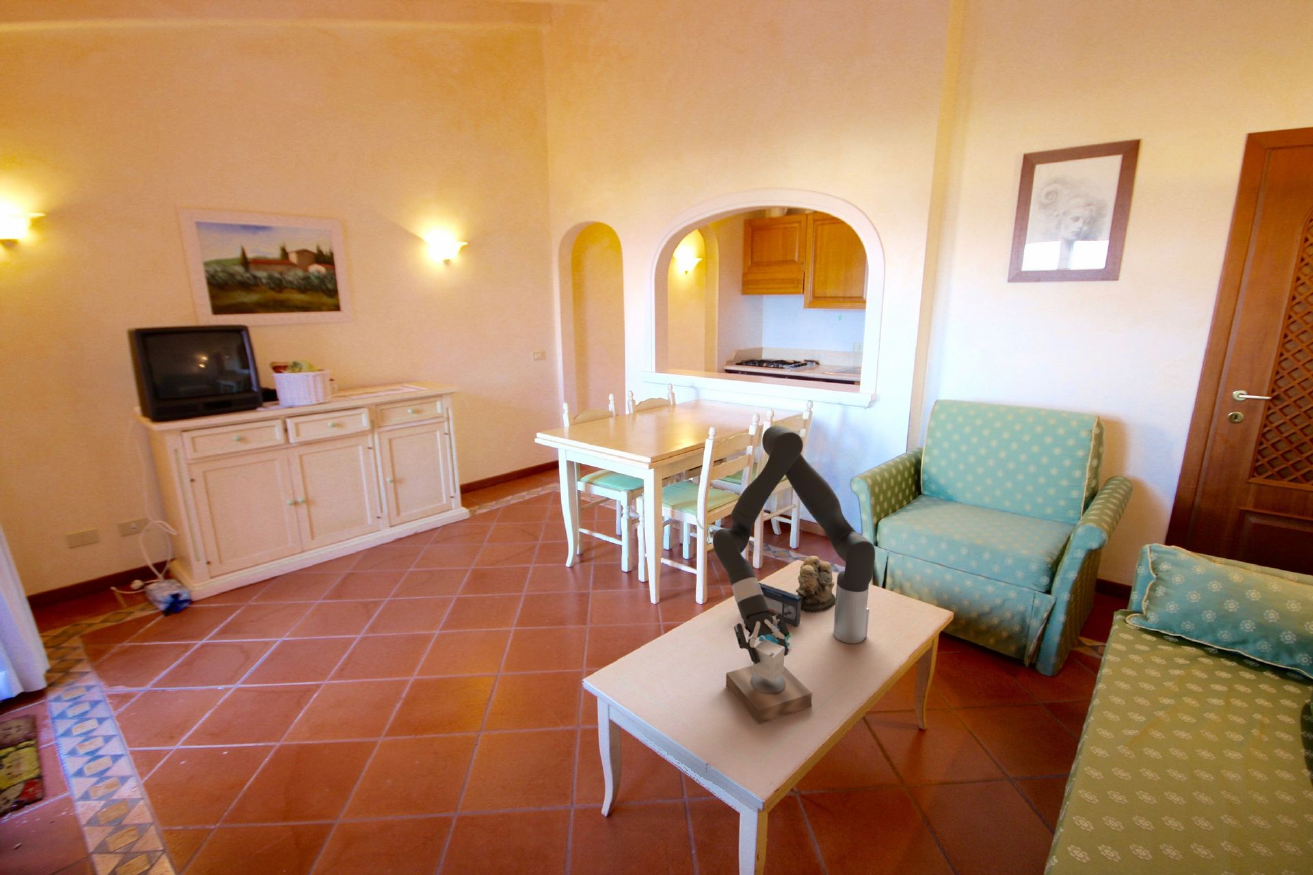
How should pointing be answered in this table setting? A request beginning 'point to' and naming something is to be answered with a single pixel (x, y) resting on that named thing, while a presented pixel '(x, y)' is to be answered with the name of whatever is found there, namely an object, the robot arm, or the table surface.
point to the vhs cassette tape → (782, 604)
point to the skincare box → (769, 660)
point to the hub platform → (768, 694)
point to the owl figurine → (815, 585)
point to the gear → (774, 638)
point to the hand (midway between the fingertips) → (771, 659)
